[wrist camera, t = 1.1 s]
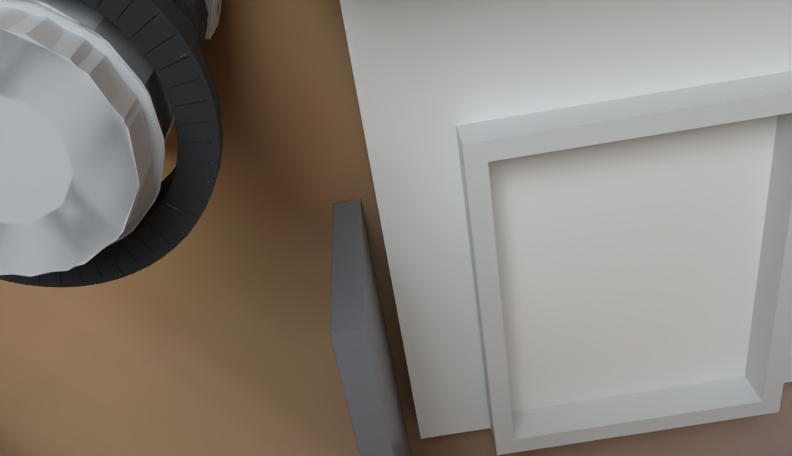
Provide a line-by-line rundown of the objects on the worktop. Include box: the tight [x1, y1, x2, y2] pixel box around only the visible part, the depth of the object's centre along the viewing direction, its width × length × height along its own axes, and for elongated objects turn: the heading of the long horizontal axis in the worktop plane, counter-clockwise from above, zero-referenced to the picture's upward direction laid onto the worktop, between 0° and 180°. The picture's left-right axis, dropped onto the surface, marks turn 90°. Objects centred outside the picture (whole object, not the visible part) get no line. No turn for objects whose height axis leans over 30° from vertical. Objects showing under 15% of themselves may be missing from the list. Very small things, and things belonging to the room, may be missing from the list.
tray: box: [340, 0, 792, 455], centre depth 19 cm, size 18×16×5 cm
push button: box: [0, 0, 223, 287], centre depth 14 cm, size 7×5×10 cm
